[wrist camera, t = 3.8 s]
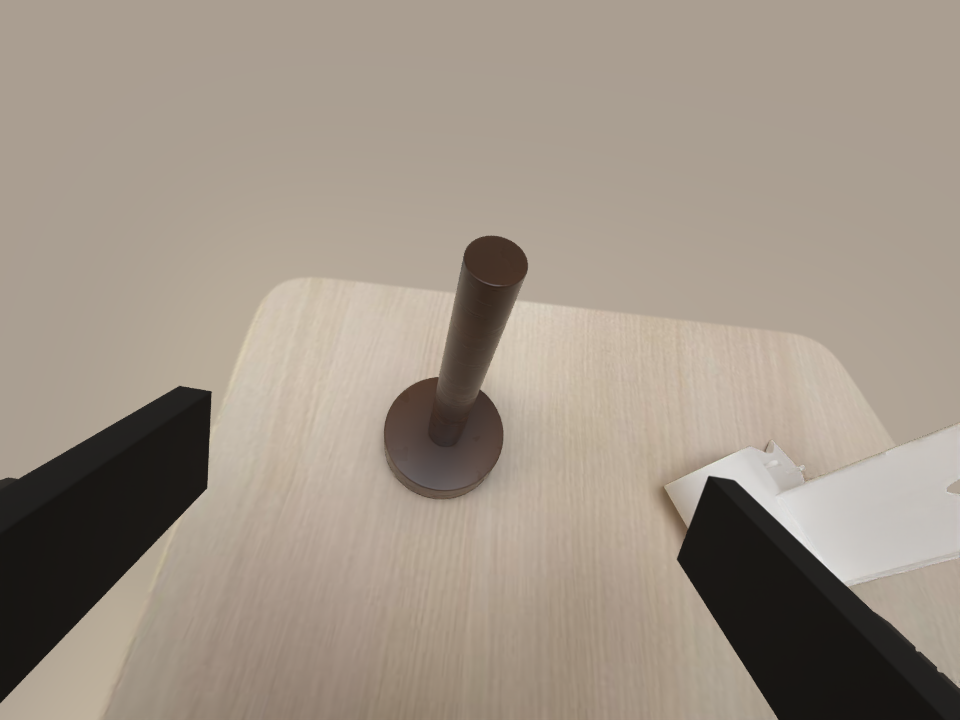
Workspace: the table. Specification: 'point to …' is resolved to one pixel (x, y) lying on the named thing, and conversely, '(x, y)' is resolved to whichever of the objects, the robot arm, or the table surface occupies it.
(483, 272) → the wooden stand
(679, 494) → the plastic part
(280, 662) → the table surface
